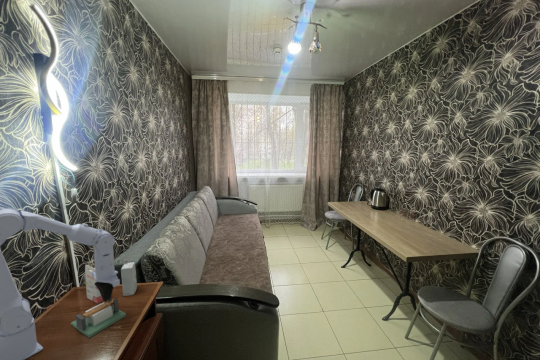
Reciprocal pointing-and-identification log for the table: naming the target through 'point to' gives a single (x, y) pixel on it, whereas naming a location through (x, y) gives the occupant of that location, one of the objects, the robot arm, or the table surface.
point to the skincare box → (129, 278)
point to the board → (101, 325)
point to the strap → (98, 309)
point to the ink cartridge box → (92, 286)
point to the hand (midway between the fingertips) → (106, 299)
